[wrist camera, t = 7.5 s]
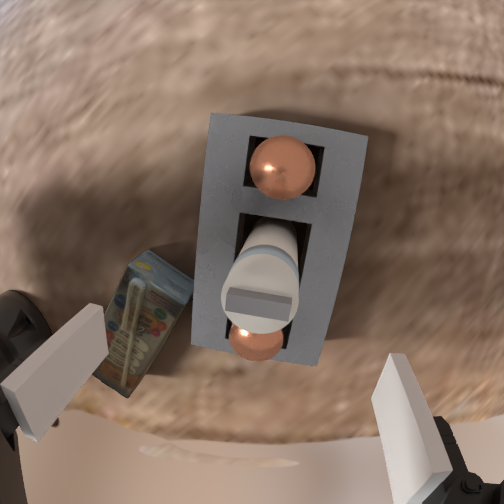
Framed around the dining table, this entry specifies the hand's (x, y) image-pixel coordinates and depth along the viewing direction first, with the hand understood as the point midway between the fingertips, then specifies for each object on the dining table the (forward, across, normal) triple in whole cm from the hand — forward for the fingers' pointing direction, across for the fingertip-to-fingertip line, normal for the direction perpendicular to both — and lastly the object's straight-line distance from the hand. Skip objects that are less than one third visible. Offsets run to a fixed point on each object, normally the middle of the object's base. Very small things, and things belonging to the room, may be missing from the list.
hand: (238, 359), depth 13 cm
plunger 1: (+22, 0, +7) cm, 23 cm away
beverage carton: (+23, -15, -14) cm, 31 cm away
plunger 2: (+22, 0, -9) cm, 23 cm away
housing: (+22, 0, -1) cm, 22 cm away
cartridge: (+22, 0, -1) cm, 22 cm away
